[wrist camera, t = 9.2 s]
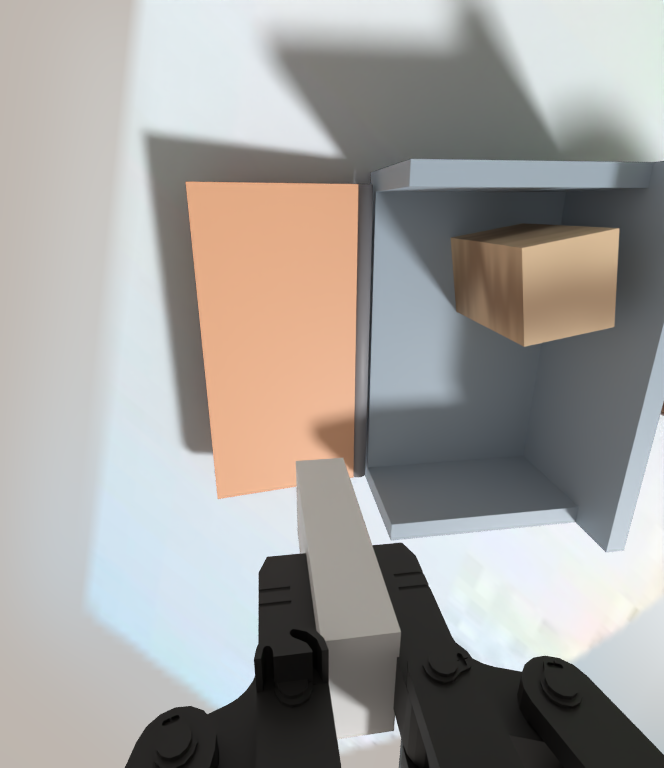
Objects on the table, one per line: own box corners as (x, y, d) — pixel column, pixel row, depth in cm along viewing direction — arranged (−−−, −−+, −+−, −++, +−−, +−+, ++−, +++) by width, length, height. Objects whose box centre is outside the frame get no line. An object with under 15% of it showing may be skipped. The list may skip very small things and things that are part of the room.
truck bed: (371, 172, 30) (432, 151, 19) (571, 174, 32) (729, 156, 21) (363, 471, 38) (404, 574, 27) (525, 458, 40) (623, 550, 29)
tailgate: (369, 185, 29) (185, 182, 27) (376, 184, 28) (185, 181, 25) (362, 468, 37) (217, 490, 34) (367, 475, 35) (218, 499, 33)
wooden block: (450, 237, 31) (522, 248, 22) (522, 223, 31) (619, 228, 23) (456, 311, 32) (524, 346, 24) (524, 297, 33) (614, 326, 24)
